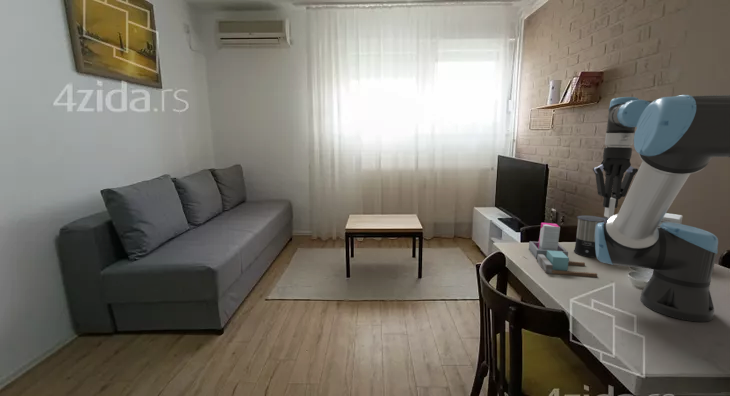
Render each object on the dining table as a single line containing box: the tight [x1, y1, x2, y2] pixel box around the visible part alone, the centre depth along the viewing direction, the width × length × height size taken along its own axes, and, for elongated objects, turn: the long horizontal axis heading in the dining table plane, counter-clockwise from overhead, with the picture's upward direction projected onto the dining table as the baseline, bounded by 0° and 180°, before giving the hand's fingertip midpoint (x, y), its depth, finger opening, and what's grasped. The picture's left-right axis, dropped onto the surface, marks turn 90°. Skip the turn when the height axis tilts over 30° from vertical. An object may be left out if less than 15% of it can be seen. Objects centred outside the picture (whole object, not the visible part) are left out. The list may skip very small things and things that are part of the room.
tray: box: [528, 240, 569, 260], centre depth 136 cm, size 11×11×4 cm
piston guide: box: [536, 254, 598, 278], centre depth 123 cm, size 11×16×3 cm
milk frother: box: [573, 215, 605, 258], centre depth 140 cm, size 14×16×15 cm
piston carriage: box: [546, 250, 570, 271], centre depth 123 cm, size 7×5×5 cm
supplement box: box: [538, 222, 561, 251], centre depth 136 cm, size 6×6×12 cm
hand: (608, 217), depth 116 cm, fingers closed
